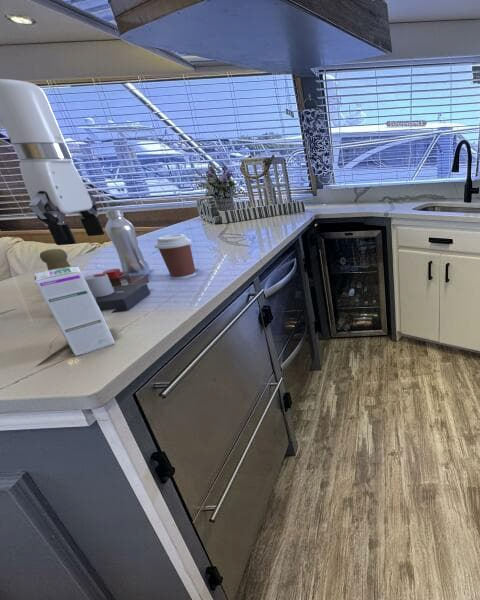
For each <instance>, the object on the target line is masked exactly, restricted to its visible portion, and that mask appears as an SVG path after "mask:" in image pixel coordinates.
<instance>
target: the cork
mask: <svg viewBox="0 0 480 600" xmlns="http://www.w3.org/2000/svg"><path fill="white" fill-rule="evenodd" d="M39 258H40V260H41V261H42V262H43V263H45V264H46V267H47V271H49V270H53V269H58V268H64V267H72V266H71V264H70V263H69V262H68V254H67V252H66V250H64V249H61V248H52V249H51V248H50V249H46V250H43V251H41V252H40V253H39Z"/></svg>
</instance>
